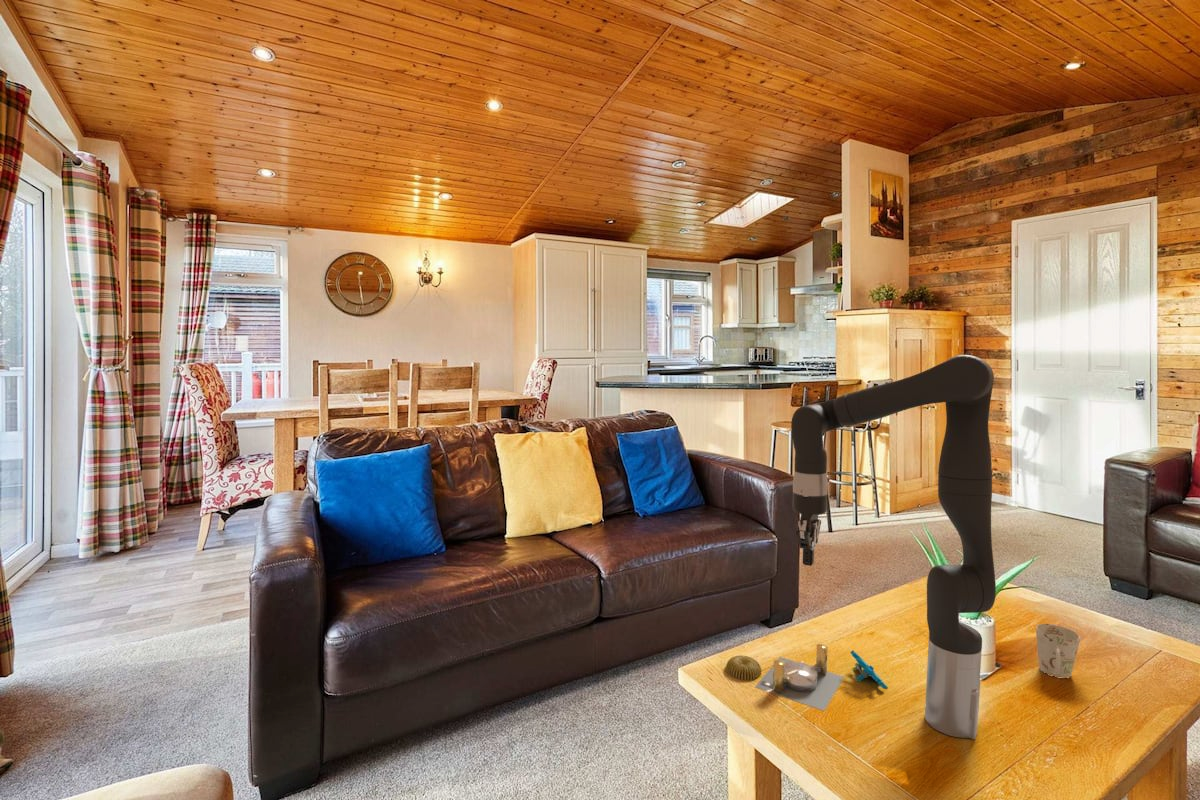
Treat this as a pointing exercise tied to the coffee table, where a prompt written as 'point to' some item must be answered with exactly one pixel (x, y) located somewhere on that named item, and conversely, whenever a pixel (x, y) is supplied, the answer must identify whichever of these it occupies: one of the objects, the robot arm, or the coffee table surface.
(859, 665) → the gear
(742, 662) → the sculpture
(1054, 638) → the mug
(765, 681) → the board
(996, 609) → the coffee table surface
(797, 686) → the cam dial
